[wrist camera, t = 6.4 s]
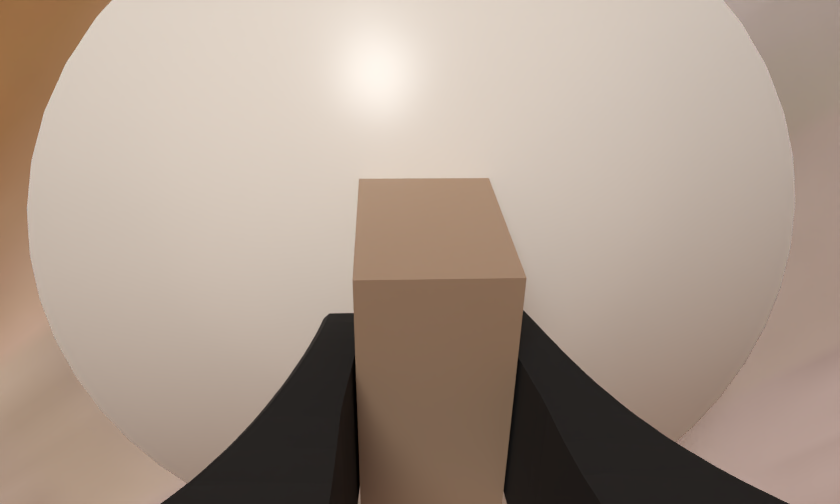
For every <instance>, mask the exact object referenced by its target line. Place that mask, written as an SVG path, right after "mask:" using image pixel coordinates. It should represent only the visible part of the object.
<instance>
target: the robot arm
mask: <svg viewBox="0 0 840 504" xmlns="http://www.w3.org/2000/svg"><path fill="white" fill-rule="evenodd" d="M359 490H360V471H359V444H358V417H357V390H356V363H355V336H354V313H329V314H328V315H327V316H326V317H325V318H324V319H323V321H322V323H321V325H320V327H319V329H318V331H317V333H316V335H315V337H314V338H313V340H312V342H311V343H310V345H309V347H308V348H307V350H306V352H305V353H304V355H303V356H302V358H301V359H300V361H299V362H298V364H297V365H296V367H295V368H294V370H293V371H292V372H291V374H290V375H289V377H288V378H287V380H286V381H285V382H284V384H283V385H282V386H281V388H280V389H279V390H278V391H277V393H276V394H275V395H274V396H273V398H272V399H271V400H270V401H269V403H268V404H267V405H266V406H265V408H264V409H263V410H262V411H261V413H260V414H259V415H258V416H257V417H256V418H255V419H254V420H253V422H252V423H251V424H250V425H249V426H248V427H247V428H246V429H245V430H244V431H243V432H242V433H241V434H240V436H239V437H238V438H237V439H236V440H235V441H234V442H233V443H232V444H231V445H230V446H229V447H228V448H227V449H226V450H225V451H223V452H222V453H221V454H220V455H219V456H218V457H217V458H216V459H215V460H214V461H213V462H211V463H210V464H209V465H208V466H207V467H206V468H205V469H204V470H203V471H202V472H200V473H199V474H198V475H197V476H196V477H195V478H193V479H192V480H191V481H190V482H189V483H187V484H186V485H185V486H184V487H183V488H181V489H180V490H179V491H177V492H176V493H175V494H173V495H172V496H171V497H169V498H168V499H167V500H165V501H164V502H163V503H161V504H358V498H359ZM503 491H504V495H505V499H506V502H507V504H789V503H786V502H784V501H782V500H780V499H778V498H776V497H774V496H772V495H770V494H768V493H766V492H764V491H762V490H760V489H758V488H755V487H753V486H751V485H749V484H747V483H745V482H743V481H741V480H740V479H738V478H736V477H734V476H732V475H730V474H728V473H726V472H725V471H723V470H721V469H719V468H717V467H716V466H714V465H712V464H710V463H709V462H707V461H705V460H704V459H702V458H700V457H699V456H697V455H695V454H694V453H692V452H690V451H688V450H687V449H685V448H683V447H682V446H680V445H679V444H677V443H676V442H674V441H673V440H671V439H669V438H668V437H666V436H665V435H663V434H662V433H661V432H659V431H658V430H656V429H655V428H654V427H652V426H651V425H649V424H648V423H646V422H645V421H644V420H642V419H641V418H639V417H638V416H637V415H635V414H634V413H633V412H631V411H630V410H629V409H627V408H626V407H625V406H624V405H622V404H621V403H620V402H619V401H617V400H616V399H615V398H614V397H613V396H611V395H610V394H609V393H608V392H607V391H605V390H604V389H603V388H602V387H601V386H600V385H598V384H597V383H596V382H595V381H594V380H593V379H592V378H591V377H589V376H588V375H587V374H586V373H585V372H584V371H583V370H582V369H581V368H580V367H579V366H578V365H577V364H576V363H574V362H573V361H572V360H571V359H570V358H569V357H568V356H567V355H566V354H565V353H564V352H563V351H562V350H561V349H560V348H559V347H558V346H557V344H556V343H555V342H554V341H553V340H552V339H551V338H550V337H549V336H548V335H547V334H546V333H545V332H544V331H543V330H542V329H541V328H540V327H539V326H538V325H537V324H536V323H535V321H534V320H533V319H532V318H531V317H530V316H529V315H528V314H527V313H526V312H525V311H524V310H523V315H522V325H521V334H520V343H519V352H518V361H517V371H516V380H515V389H514V398H513V407H512V417H511V426H510V435H509V444H508V453H507V463H506V472H505V481H504V490H503Z"/></svg>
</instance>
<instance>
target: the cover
mask: <svg viewBox="0 0 840 504" xmlns="http://www.w3.org/2000/svg"><path fill="white" fill-rule="evenodd" d="M794 212H795V184H794V162H793V154H792V149H791V144H790V139H789V134H788V130H787V125H786V120H785V115H784V111H783V108H782V106H781V103H780V100H779V98H778V95H777V92H776V90H775V87H774V84H773V82H772V79H771V77H770V74H769V71H768V69H767V66H766V64H765V63H764V61H763V59H762V57H761V56H760V54H759V52H758V51H757V49H756V47H755V45H754V44H753V42H752V40H751V38H750V37H749V35H748V33H747V31H746V30H745V28H744V26H743V25H742V23H741V21H740V20H739V19H738V18H737V17H736V15H735V14H734V13H733V12H732V10H731V9H730V8H729V7H728V6H727V4H726V3H725V2H724V1H723V0H112V1H111V2H110V3H109V4H108V5H107V6H106V7H105V8H104V10H103V11H102V12H101V13H100V14H99V15H98V16H97V17H96V19H95V20H94V22H93V23H92V25H91V26H90V28H89V29H88V31H87V32H86V34H85V35H84V37H83V38H82V40H81V41H80V43H79V44H78V46H77V47H76V49H75V51H74V52H73V54H72V55H71V57H70V58H69V60H68V61H67V63H66V64H65V67H64V69H63V71H62V73H61V76H60V78H59V80H58V82H57V85H56V87H55V89H54V91H53V94H52V96H51V98H50V100H49V103H48V105H47V107H46V109H45V111H44V115H43V119H42V123H41V126H40V130H39V134H38V138H37V142H36V145H35V149H34V153H33V157H32V161H31V171H30V182H29V192H28V203H27V218H28V233H29V248H30V258H31V262H32V267H33V271H34V276H35V280H36V285H37V289H38V294H39V298H40V301H41V304H42V306H43V309H44V312H45V314H46V317H47V319H48V322H49V325H50V327H51V330H52V332H53V335H54V338H55V340H56V342H57V344H58V345H59V347H60V349H61V351H62V353H63V354H64V356H65V358H66V360H67V362H68V363H69V365H70V367H71V369H72V371H73V373H74V374H75V376H76V378H77V379H78V380H79V382H80V383H81V384H82V386H83V387H84V388H85V390H86V391H87V392H88V394H89V395H90V397H91V398H92V399H93V401H94V402H95V403H96V405H97V406H98V407H99V409H100V410H101V411H102V412H103V413H104V414H105V415H106V416H107V417H108V418H109V419H110V420H111V422H112V423H113V424H114V425H115V426H116V427H117V428H118V429H119V430H120V431H121V432H122V433H123V434H124V435H125V436H126V437H127V438H128V439H129V440H130V441H131V442H132V443H133V444H135V445H136V446H137V447H138V448H140V449H141V450H142V451H143V452H144V453H146V454H147V455H148V456H149V457H150V458H152V459H153V460H154V461H155V462H156V463H158V464H159V465H160V466H162V467H163V468H165V469H166V470H168V471H169V472H171V473H172V474H174V475H175V476H177V477H178V478H180V479H181V480H183V481H185V482H186V483H189V482H190V481H191V480H192V479H193V478H195V477H196V476H197V475H198V474H199V473H200V472H202V471H203V470H204V469H205V468H206V467H207V466H208V465H209V464H210V463H211V462H213V461H214V460H215V459H216V458H217V457H218V456H219V455H220V454H221V453H222V452H223V451H225V450H226V449H227V448H228V447H229V446H230V445H231V444H232V443H233V442H234V441H235V440H236V439H237V438H238V437H239V436H240V434H241V433H242V432H243V431H244V430H245V429H246V428H247V427H248V426H249V425H250V424H251V423H252V422H253V420H254V419H255V418H256V417H257V416H258V415H259V414H260V413H261V411H262V410H263V409H264V408H265V406H266V405H267V404H268V403H269V401H270V400H271V399H272V398H273V396H274V395H275V394H276V393H277V391H278V390H279V389H280V388H281V386H282V385H283V384H284V382H285V381H286V380H287V378H288V377H289V375H290V374H291V372H292V371H293V370H294V368H295V367H296V365H297V364H298V362H299V361H300V359H301V358H302V356H303V355H304V353H305V352H306V350H307V348H308V347H309V345H310V343H311V342H312V340H313V338H314V337H315V335H316V333H317V331H318V329H319V327H320V325H321V323H322V321H323V319H324V318H325V317H326V316H327V315H328V314H329V313H354V336H355V363H356V390H357V417H358V444H359V471H360V490H359V498H358V504H507V502H506V499H505V495H504V491H503V490H504V481H505V472H506V463H507V453H508V444H509V435H510V426H511V417H512V407H513V398H514V389H515V380H516V371H517V361H518V352H519V343H520V334H521V325H522V315H523V310H524V311H525V312H526V313H527V314H528V315H529V316H530V317H531V318H532V319H533V320H534V321H535V323H536V324H537V325H538V326H539V327H540V328H541V329H542V330H543V331H544V332H545V333H546V334H547V335H548V336H549V337H550V338H551V339H552V340H553V341H554V342H555V343H556V344H557V346H558V347H559V348H560V349H561V350H562V351H563V352H564V353H565V354H566V355H567V356H568V357H569V358H570V359H571V360H572V361H573V362H574V363H576V364H577V365H578V366H579V367H580V368H581V369H582V370H583V371H584V372H585V373H586V374H587V375H588V376H589V377H591V378H592V379H593V380H594V381H595V382H596V383H597V384H598V385H600V386H601V387H602V388H603V389H604V390H605V391H607V392H608V393H609V394H610V395H611V396H613V397H614V398H615V399H616V400H617V401H619V402H620V403H621V404H622V405H624V406H625V407H626V408H627V409H629V410H630V411H631V412H633V413H634V414H635V415H637V416H638V417H639V418H641V419H642V420H644V421H645V422H646V423H648V424H649V425H651V426H652V427H654V428H655V429H656V430H658V431H659V432H661V433H662V434H663V435H665V436H666V437H668V438H669V439H671V440H673V441H674V442H676V441H677V440H678V439H679V438H680V437H682V436H683V435H684V434H685V433H686V432H687V431H688V430H689V429H691V428H692V427H693V426H694V425H695V424H696V423H697V422H698V421H699V420H700V419H701V417H702V416H703V415H704V414H705V413H706V412H707V411H708V410H709V409H710V407H711V406H712V405H713V404H714V403H715V402H716V401H717V400H718V399H719V398H720V396H721V395H722V394H723V393H724V391H725V390H726V389H727V387H728V386H729V384H730V383H731V382H732V380H733V379H734V377H735V376H736V375H737V373H738V372H739V370H740V369H741V368H742V366H743V365H744V364H745V362H746V360H747V359H748V357H749V355H750V353H751V351H752V349H753V348H754V346H755V344H756V342H757V340H758V339H759V337H760V335H761V333H762V331H763V330H764V328H765V326H766V323H767V321H768V318H769V316H770V313H771V311H772V308H773V306H774V303H775V301H776V298H777V296H778V293H779V291H780V288H781V284H782V280H783V276H784V272H785V268H786V264H787V260H788V256H789V252H790V248H791V241H792V231H793V221H794Z"/></svg>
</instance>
